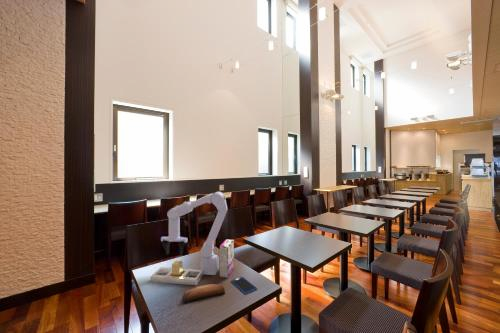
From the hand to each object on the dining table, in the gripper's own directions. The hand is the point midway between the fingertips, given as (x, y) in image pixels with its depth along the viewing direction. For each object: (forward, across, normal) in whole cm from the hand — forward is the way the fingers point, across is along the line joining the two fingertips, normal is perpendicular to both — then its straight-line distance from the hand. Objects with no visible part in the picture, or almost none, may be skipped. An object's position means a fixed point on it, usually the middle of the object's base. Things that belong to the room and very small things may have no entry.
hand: (174, 254), depth 117 cm
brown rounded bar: (+10, +23, -17) cm, 30 cm away
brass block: (+9, +5, -6) cm, 12 cm away
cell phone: (+10, +40, -8) cm, 42 cm away
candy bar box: (+10, +29, +3) cm, 31 cm away
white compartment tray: (+9, +5, -6) cm, 12 cm away
